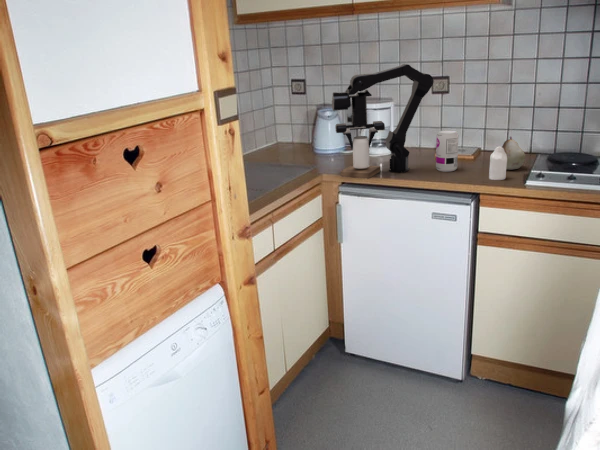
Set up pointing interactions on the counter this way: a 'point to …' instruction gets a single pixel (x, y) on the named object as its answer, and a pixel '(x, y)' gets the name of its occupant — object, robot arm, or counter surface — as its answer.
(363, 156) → the can
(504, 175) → the white bottle
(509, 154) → the fruit
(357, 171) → the base
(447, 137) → the supplement can
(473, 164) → the counter surface
